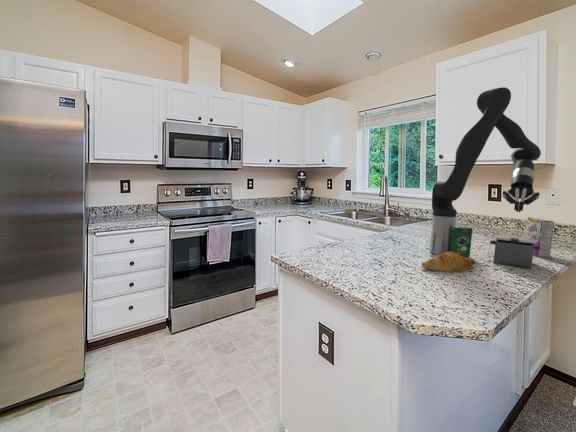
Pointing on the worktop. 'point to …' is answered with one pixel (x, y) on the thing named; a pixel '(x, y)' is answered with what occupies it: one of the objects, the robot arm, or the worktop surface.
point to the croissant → (448, 262)
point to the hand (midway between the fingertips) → (518, 210)
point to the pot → (514, 253)
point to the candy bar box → (540, 235)
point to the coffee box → (461, 241)
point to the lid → (515, 239)
